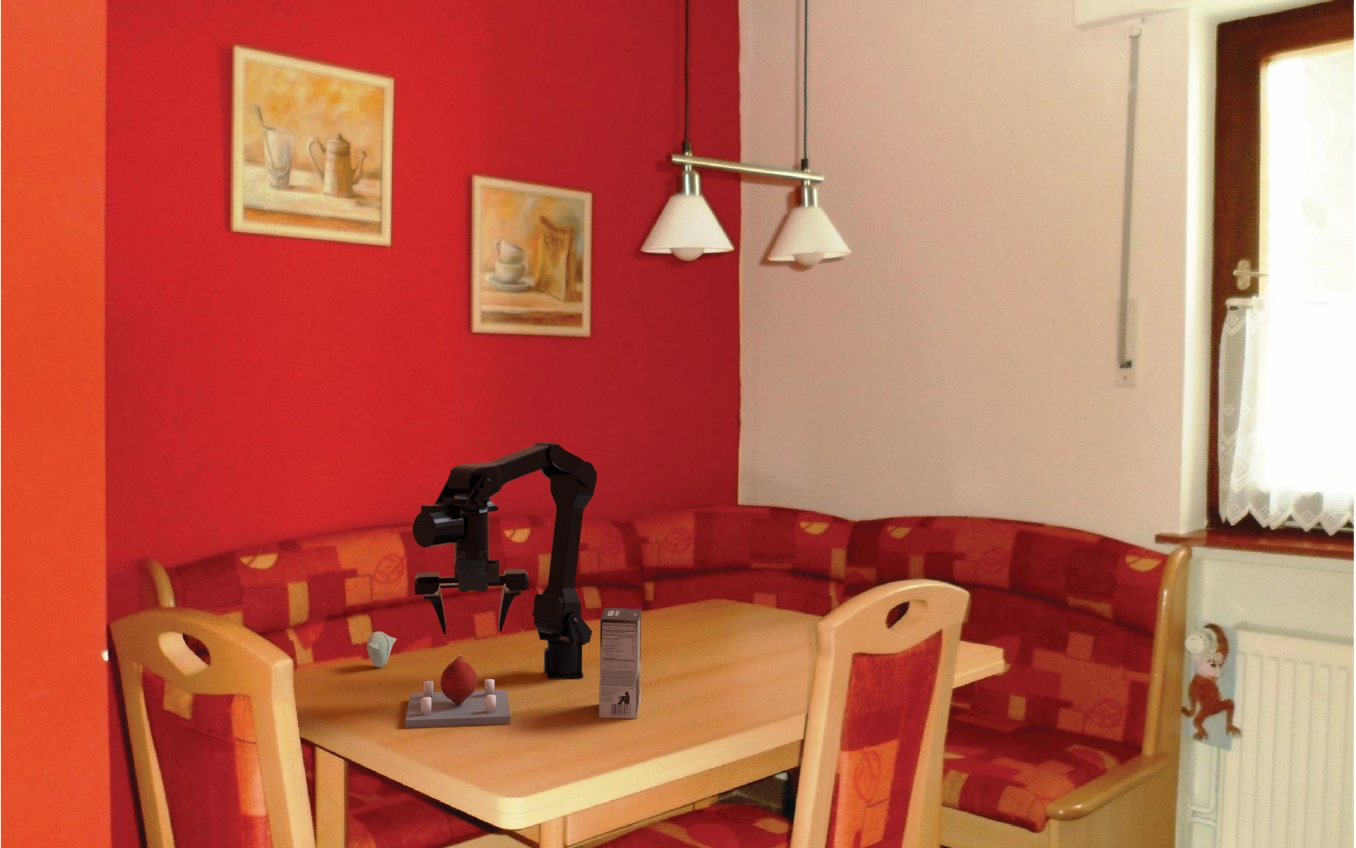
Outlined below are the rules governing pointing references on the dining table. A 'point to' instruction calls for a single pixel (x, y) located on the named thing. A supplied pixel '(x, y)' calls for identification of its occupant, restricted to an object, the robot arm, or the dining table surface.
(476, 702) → the plate
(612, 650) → the coffee box
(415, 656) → the dining table surface
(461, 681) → the onion
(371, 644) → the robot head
